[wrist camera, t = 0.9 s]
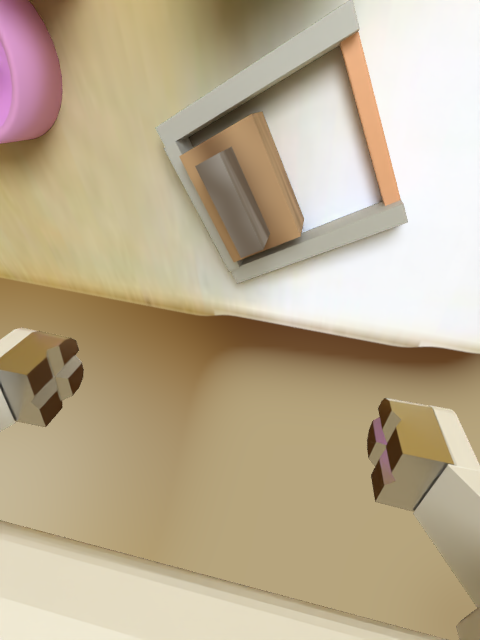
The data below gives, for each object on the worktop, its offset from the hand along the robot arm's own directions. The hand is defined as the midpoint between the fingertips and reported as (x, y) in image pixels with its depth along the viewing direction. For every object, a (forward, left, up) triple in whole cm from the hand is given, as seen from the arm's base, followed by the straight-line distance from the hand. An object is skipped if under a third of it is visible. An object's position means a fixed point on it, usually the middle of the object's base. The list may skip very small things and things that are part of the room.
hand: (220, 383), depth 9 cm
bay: (+2, -1, -34) cm, 34 cm away
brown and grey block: (+6, -1, -34) cm, 34 cm away
